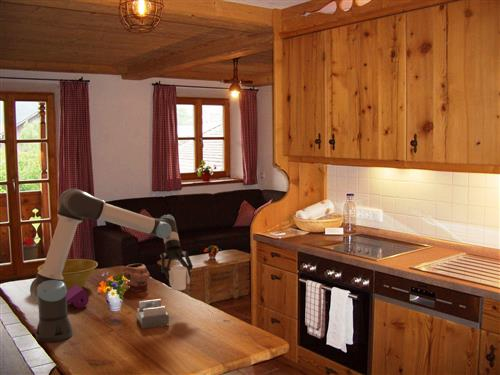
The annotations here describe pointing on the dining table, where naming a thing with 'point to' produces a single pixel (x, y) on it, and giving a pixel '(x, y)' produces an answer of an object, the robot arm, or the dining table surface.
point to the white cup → (178, 277)
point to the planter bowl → (76, 272)
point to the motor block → (152, 314)
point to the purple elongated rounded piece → (77, 297)
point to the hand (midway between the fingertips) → (180, 283)
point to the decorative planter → (136, 276)
